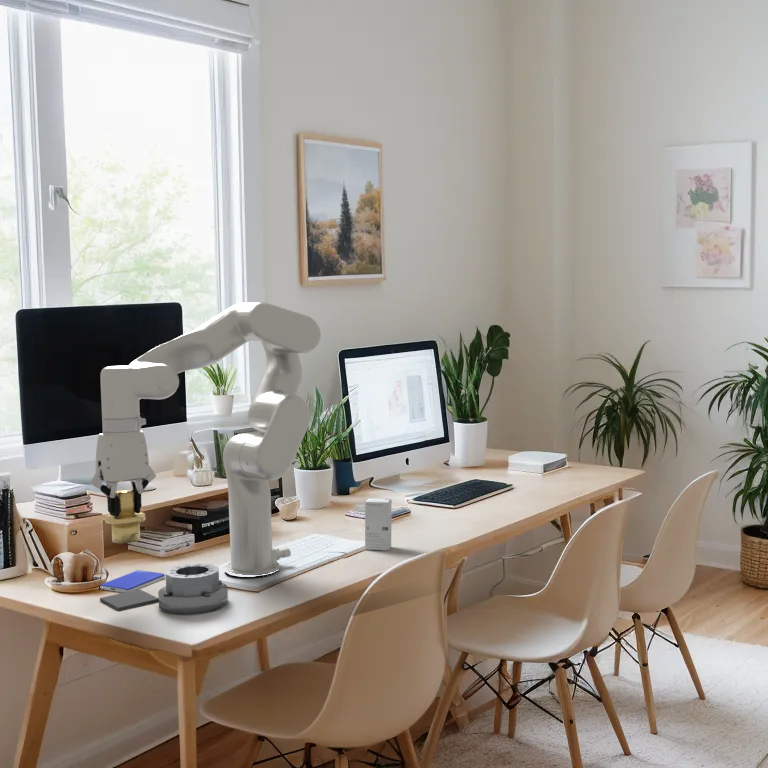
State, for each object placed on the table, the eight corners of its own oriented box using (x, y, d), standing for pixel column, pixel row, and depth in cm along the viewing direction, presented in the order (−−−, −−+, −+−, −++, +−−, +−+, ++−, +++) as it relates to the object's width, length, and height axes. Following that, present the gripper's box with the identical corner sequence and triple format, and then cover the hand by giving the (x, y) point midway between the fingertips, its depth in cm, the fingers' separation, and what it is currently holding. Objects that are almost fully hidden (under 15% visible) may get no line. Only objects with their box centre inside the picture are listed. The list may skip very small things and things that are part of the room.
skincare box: (364, 550, 249) (363, 501, 247) (368, 545, 253) (367, 497, 252) (389, 551, 247) (388, 502, 246) (392, 546, 252) (391, 498, 251)
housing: (207, 589, 218) (205, 557, 217) (240, 604, 207) (239, 571, 207) (147, 603, 209) (145, 570, 209) (178, 619, 198) (177, 584, 198)
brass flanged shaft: (135, 533, 215) (133, 486, 215) (152, 540, 209) (150, 491, 208) (99, 539, 210) (97, 491, 210) (116, 546, 204) (114, 497, 203)
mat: (140, 592, 217) (139, 589, 217) (159, 601, 210) (159, 598, 210) (100, 600, 212) (99, 597, 212) (118, 610, 205) (118, 607, 205)
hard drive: (136, 569, 232) (98, 584, 221) (164, 573, 228) (126, 588, 217) (137, 576, 232) (98, 591, 221) (165, 580, 228) (127, 595, 217)
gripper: (150, 420, 216) (154, 505, 218) (74, 428, 205) (78, 517, 207) (167, 423, 210) (170, 510, 212) (89, 431, 200) (93, 523, 201)
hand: (125, 513), depth 209 cm, fingers closed on brass flanged shaft, 4 cm apart
